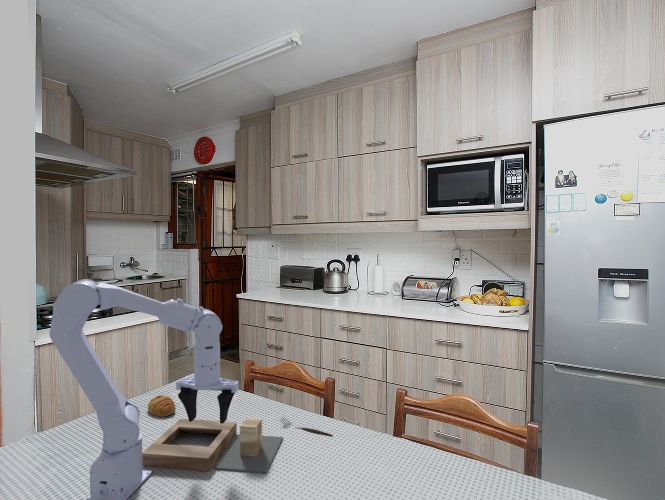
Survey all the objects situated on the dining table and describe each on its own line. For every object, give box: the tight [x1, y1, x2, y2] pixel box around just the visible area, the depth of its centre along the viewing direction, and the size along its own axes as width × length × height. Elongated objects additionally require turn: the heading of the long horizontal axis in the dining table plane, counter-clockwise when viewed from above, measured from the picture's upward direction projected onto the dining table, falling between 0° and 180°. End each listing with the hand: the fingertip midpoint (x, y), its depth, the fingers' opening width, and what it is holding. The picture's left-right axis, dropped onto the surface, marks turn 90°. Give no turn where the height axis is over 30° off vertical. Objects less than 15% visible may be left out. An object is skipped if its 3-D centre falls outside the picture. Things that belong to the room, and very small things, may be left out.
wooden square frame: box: [142, 418, 238, 472], centre depth 88 cm, size 16×16×3 cm
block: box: [239, 417, 263, 456], centre depth 86 cm, size 4×4×7 cm
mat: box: [214, 433, 284, 474], centre depth 86 cm, size 14×12×1 cm
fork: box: [279, 416, 334, 437], centre depth 97 cm, size 3×16×2 cm, turn 65°
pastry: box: [147, 395, 177, 418], centre depth 108 cm, size 9×7×4 cm
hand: (207, 420), depth 83 cm, fingers open, 7 cm apart
